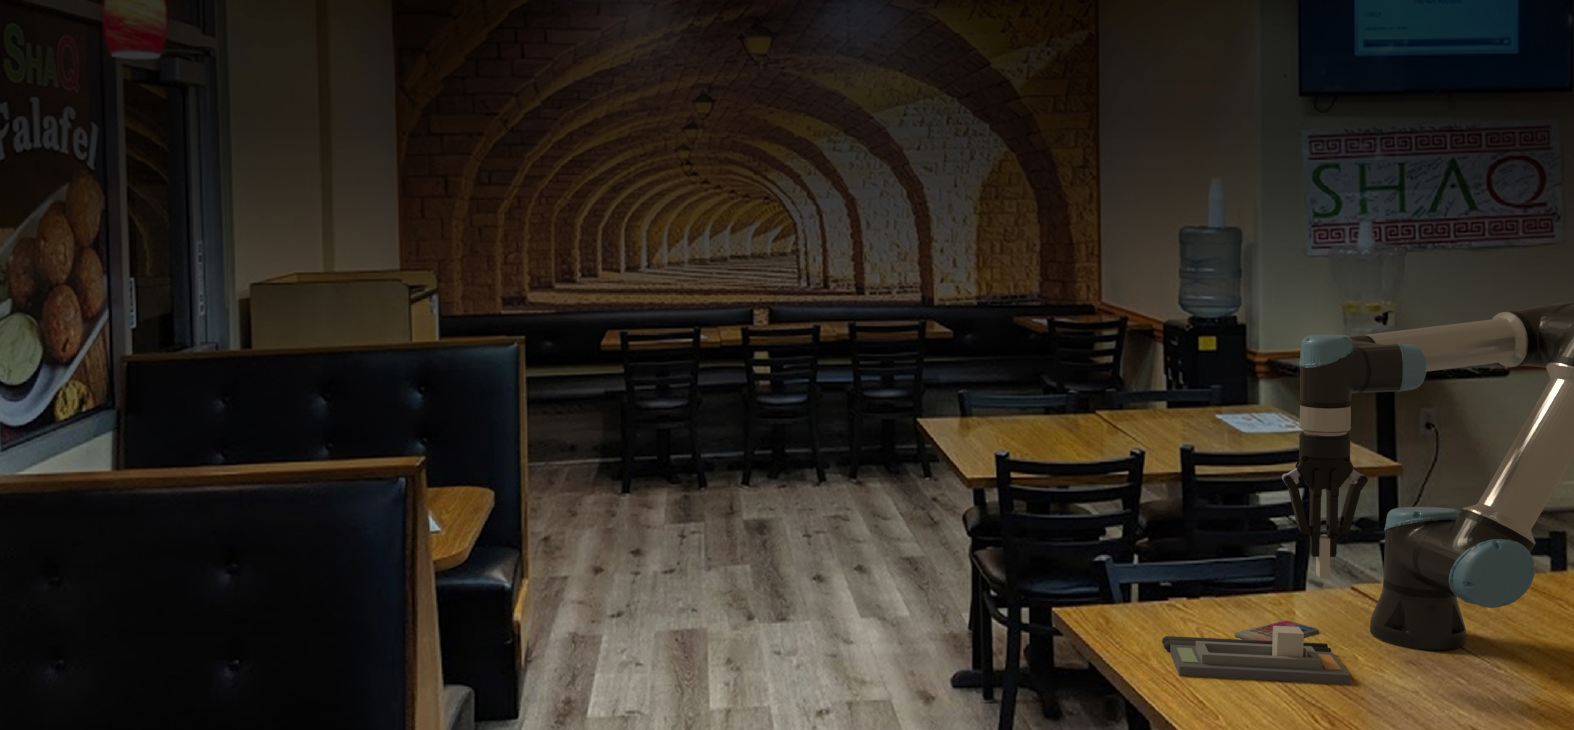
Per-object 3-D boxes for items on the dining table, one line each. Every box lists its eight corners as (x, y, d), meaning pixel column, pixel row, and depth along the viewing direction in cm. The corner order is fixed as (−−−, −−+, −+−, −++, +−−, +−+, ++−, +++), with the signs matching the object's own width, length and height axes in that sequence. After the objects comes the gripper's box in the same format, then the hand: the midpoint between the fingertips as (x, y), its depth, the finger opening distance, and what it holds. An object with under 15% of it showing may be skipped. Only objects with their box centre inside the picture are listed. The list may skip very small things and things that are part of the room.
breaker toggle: (1297, 656, 209) (1298, 626, 208) (1302, 663, 205) (1303, 633, 205) (1271, 655, 209) (1273, 625, 209) (1276, 662, 206) (1277, 632, 205)
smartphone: (1231, 632, 225) (1286, 619, 233) (1231, 638, 225) (1286, 624, 233) (1266, 643, 219) (1321, 629, 226) (1266, 648, 219) (1321, 634, 226)
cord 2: (1328, 656, 214) (1328, 646, 213) (1331, 660, 212) (1331, 649, 212) (1162, 648, 218) (1163, 638, 218) (1164, 652, 216) (1164, 641, 216)
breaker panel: (1331, 660, 211) (1332, 643, 211) (1349, 684, 201) (1350, 665, 200) (1170, 653, 216) (1170, 635, 215) (1179, 675, 205) (1179, 657, 204)
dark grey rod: (1325, 652, 216) (1325, 642, 216) (1327, 655, 214) (1328, 645, 214) (1161, 644, 220) (1161, 634, 220) (1162, 647, 218) (1162, 637, 218)
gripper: (1362, 427, 205) (1359, 570, 208) (1277, 427, 207) (1275, 569, 210) (1374, 435, 198) (1372, 583, 200) (1286, 435, 200) (1284, 581, 203)
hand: (1322, 575), depth 205 cm, fingers closed
